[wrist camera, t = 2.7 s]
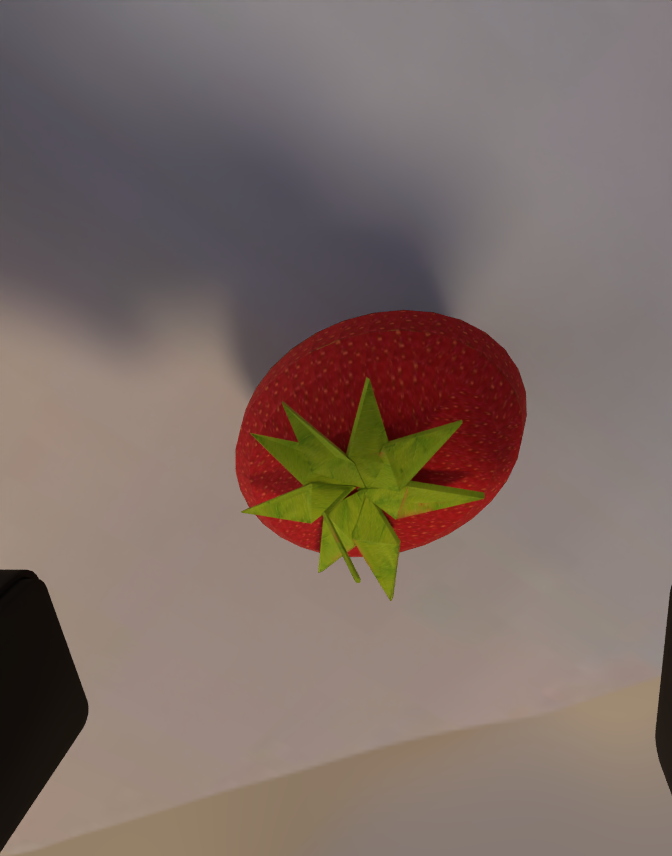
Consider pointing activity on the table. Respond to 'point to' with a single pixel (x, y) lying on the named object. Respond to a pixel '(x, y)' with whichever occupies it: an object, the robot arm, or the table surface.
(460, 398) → the strawberry
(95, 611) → the table surface
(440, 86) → the table surface
